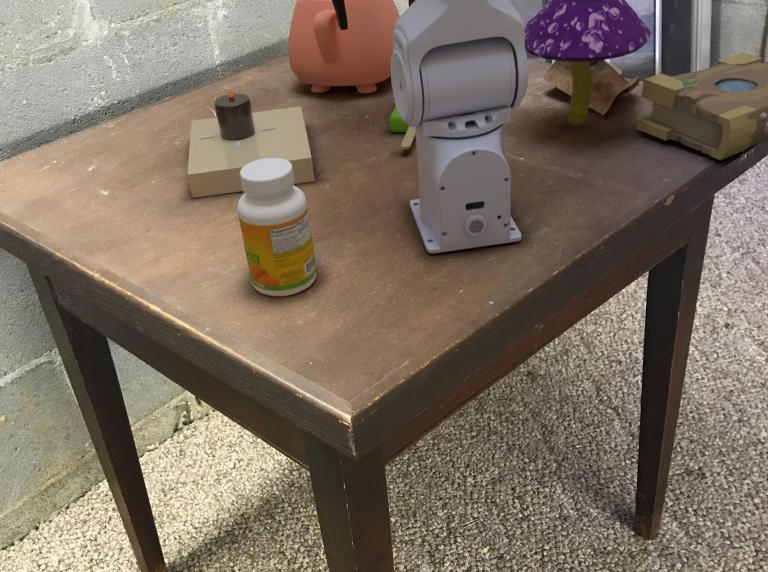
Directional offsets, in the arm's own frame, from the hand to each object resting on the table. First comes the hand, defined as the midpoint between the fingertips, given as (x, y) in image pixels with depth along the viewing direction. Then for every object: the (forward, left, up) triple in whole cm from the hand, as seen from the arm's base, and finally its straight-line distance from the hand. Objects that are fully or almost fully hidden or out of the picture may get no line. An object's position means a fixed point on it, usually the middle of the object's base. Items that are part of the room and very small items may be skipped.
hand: (379, 22), depth 92 cm
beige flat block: (-8, +15, -10) cm, 20 cm away
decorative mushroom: (-11, -18, -10) cm, 23 cm away
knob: (-6, +16, -7) cm, 19 cm away
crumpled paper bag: (-5, -20, -6) cm, 22 cm away
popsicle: (-5, -3, -10) cm, 11 cm away
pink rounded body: (+13, +2, -10) cm, 17 cm away
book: (-16, -32, -10) cm, 37 cm away
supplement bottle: (-33, +13, -10) cm, 37 cm away
